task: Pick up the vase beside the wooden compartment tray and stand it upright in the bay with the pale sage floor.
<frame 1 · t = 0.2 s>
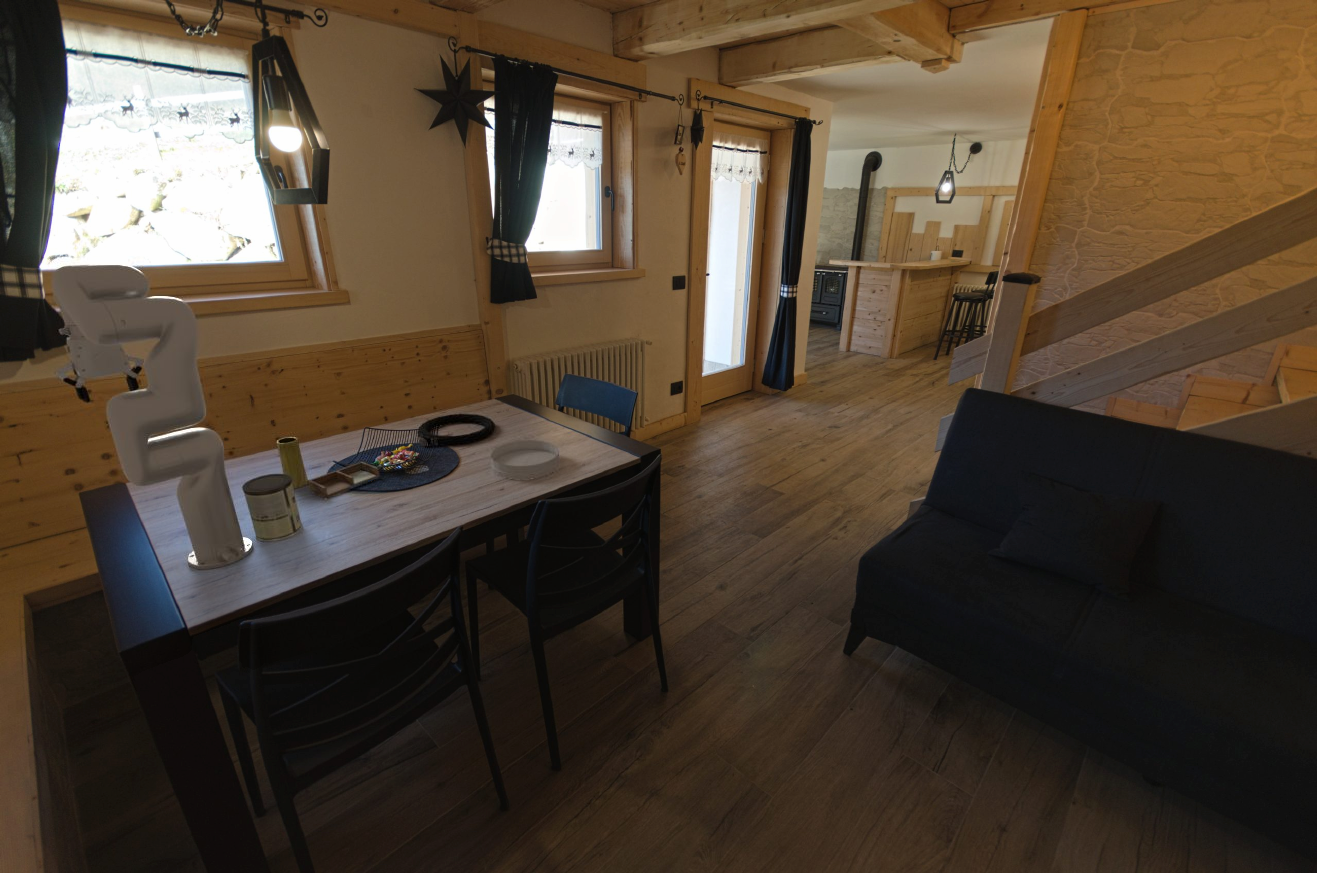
hand: (111, 396, 149), 31 cm above the table, tool pointing down, fingers open, 9 cm apart
cable lock: (454, 435, 215), on the table
wooden compartment tray: (345, 484, 174), on the table
vase: (297, 484, 173), on the table
coffee can: (279, 532, 148), on the table
dish: (526, 467, 190), on the table
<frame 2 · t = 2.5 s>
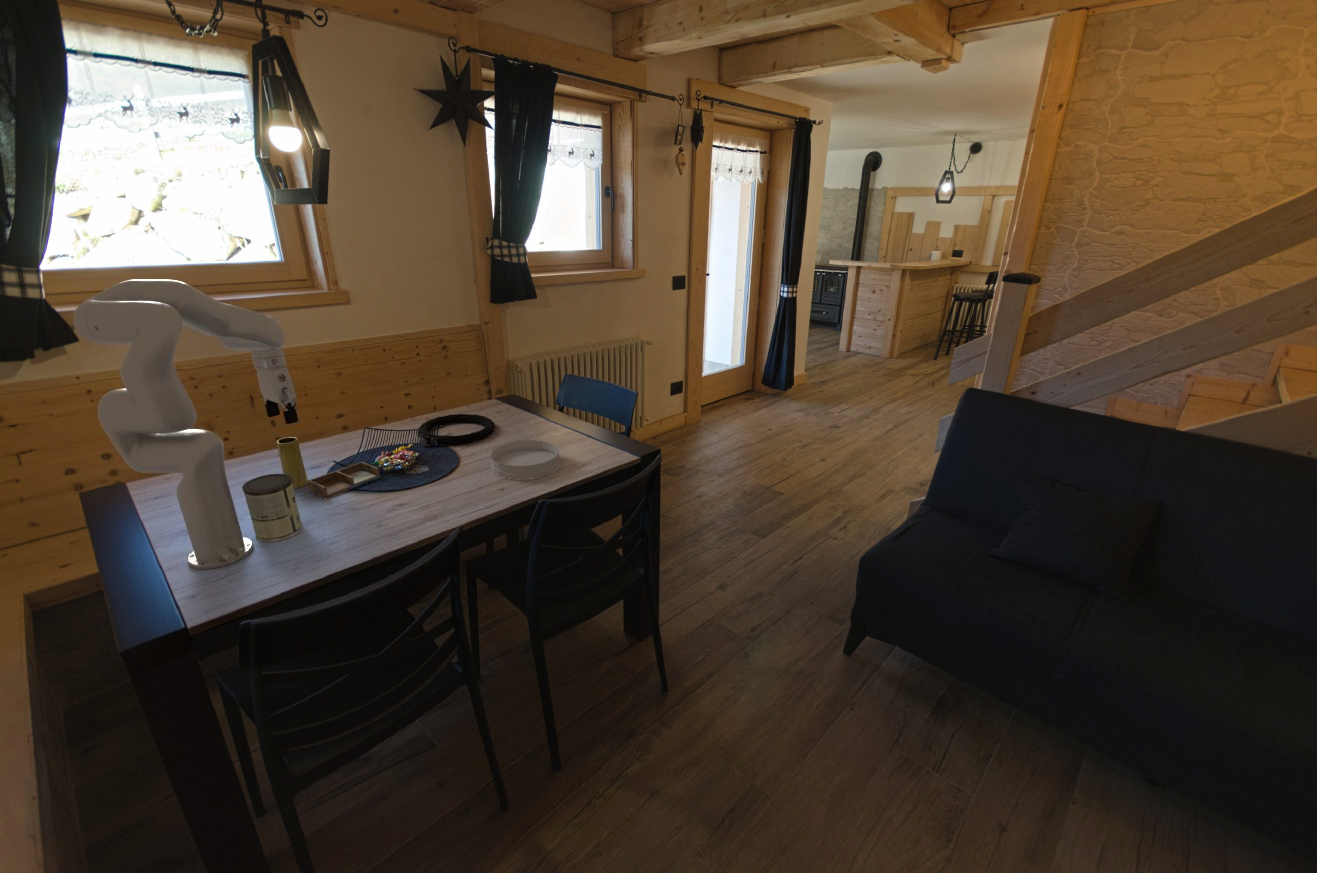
hand: (283, 419, 166), 21 cm above the table, tool pointing down, fingers open, 9 cm apart
nothing on the table moved.
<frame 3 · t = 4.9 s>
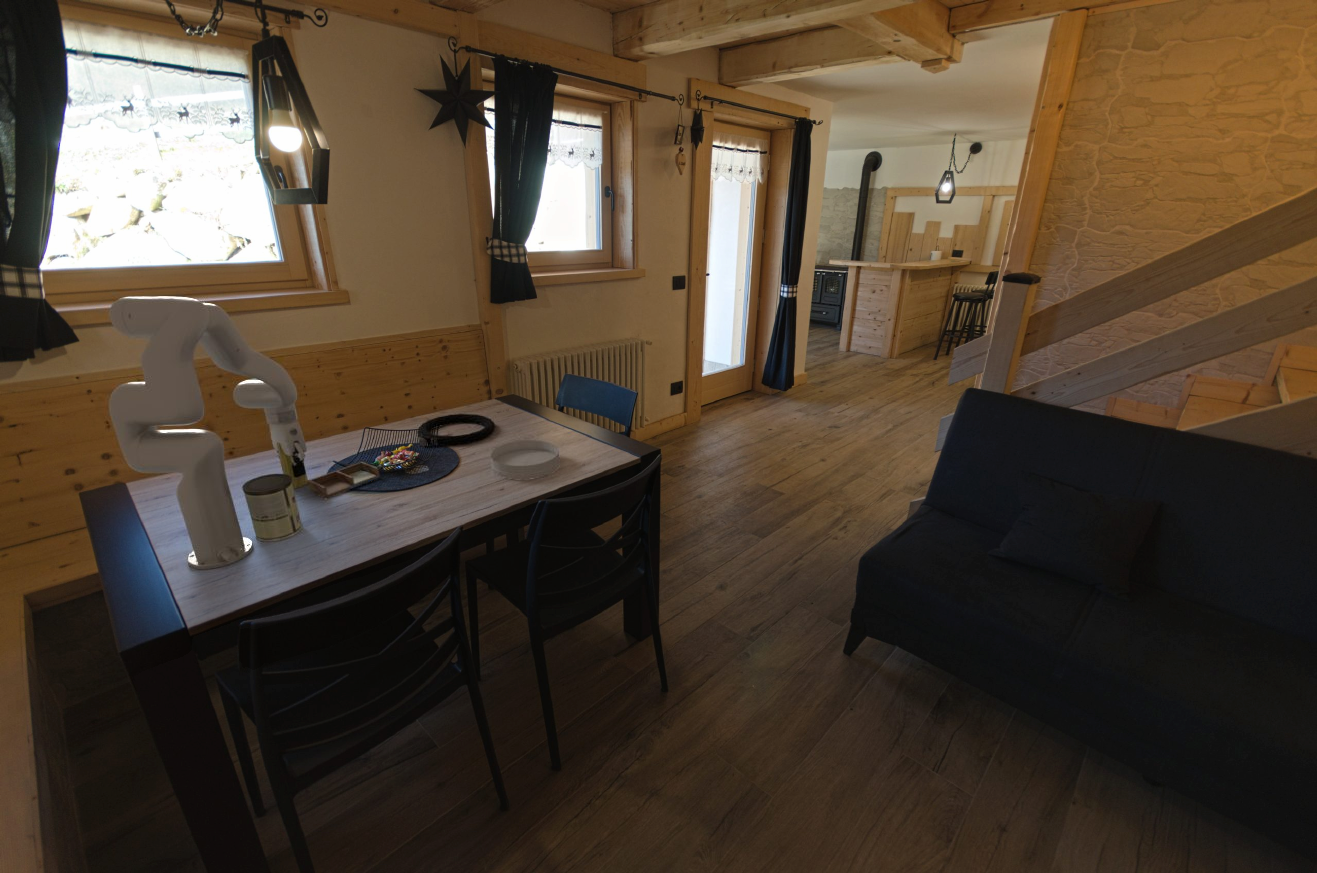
hand: (294, 472, 172), 4 cm above the table, tool pointing down, fingers closed on vase, 5 cm apart
vase: (297, 484, 174), on the table, touching gripper
everything else where it was.
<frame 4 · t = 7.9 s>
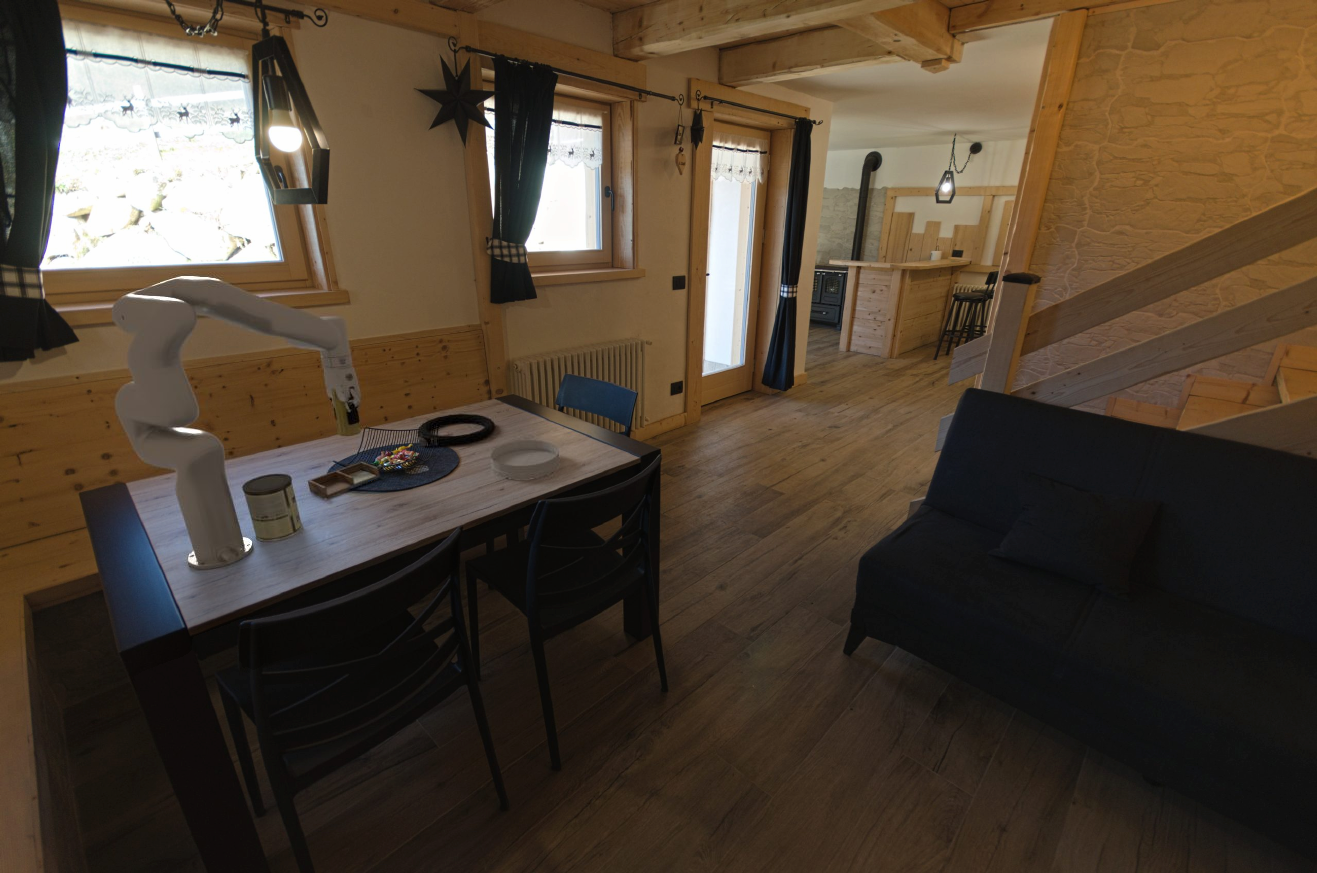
hand: (347, 420, 170), 19 cm above the table, tool pointing down, fingers closed on vase, 5 cm apart
vase: (350, 433, 171), point 15 cm above the table, touching gripper
everything else where it was.
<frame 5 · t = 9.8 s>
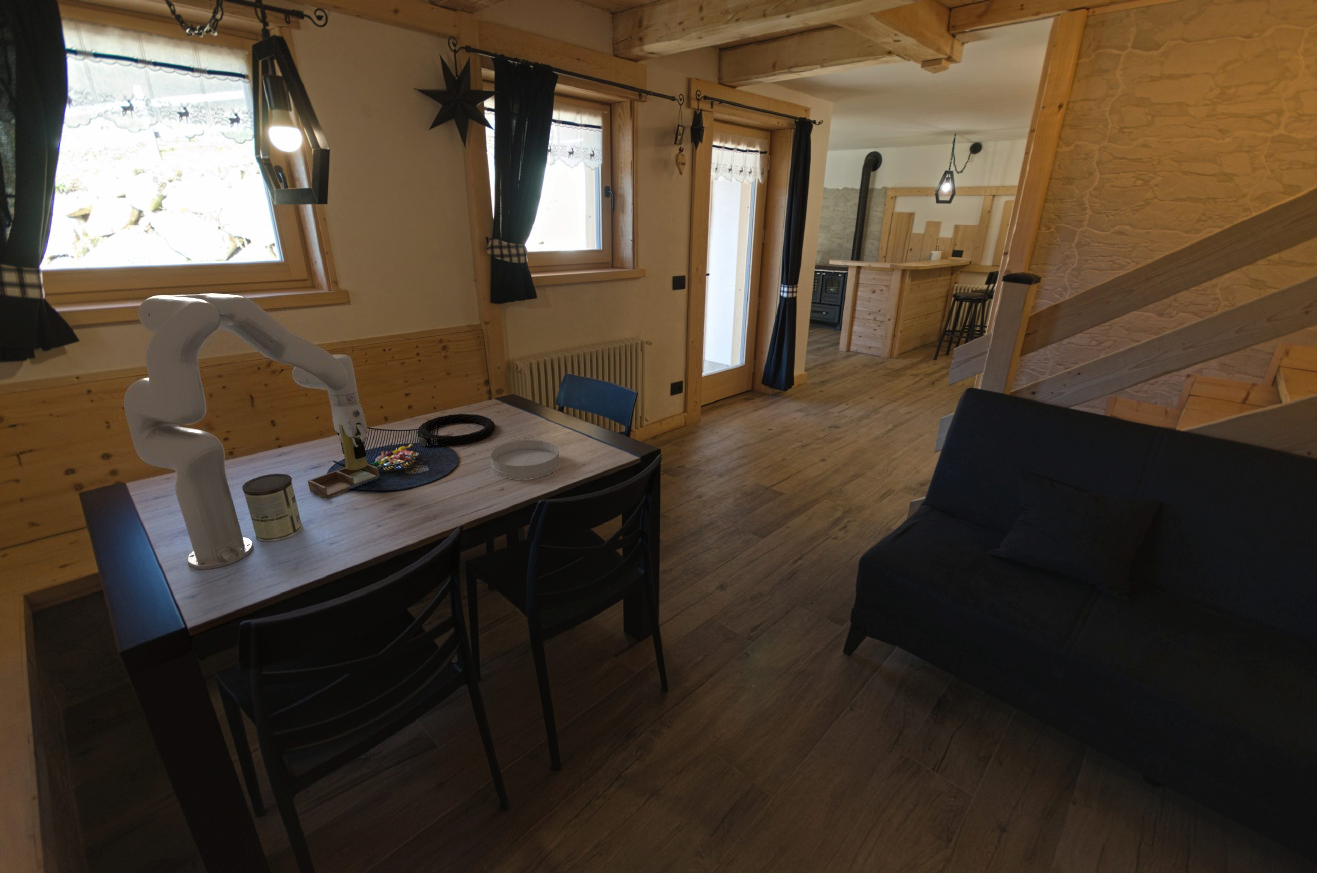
hand: (354, 454, 174), 8 cm above the table, tool pointing down, fingers closed on vase, 5 cm apart
vase: (356, 466, 175), point 4 cm above the table, touching gripper
everything else where it was.
when the fingers open (6 cm above the table, at t = 11.1 s): vase drops 1 cm, resting on wooden compartment tray.
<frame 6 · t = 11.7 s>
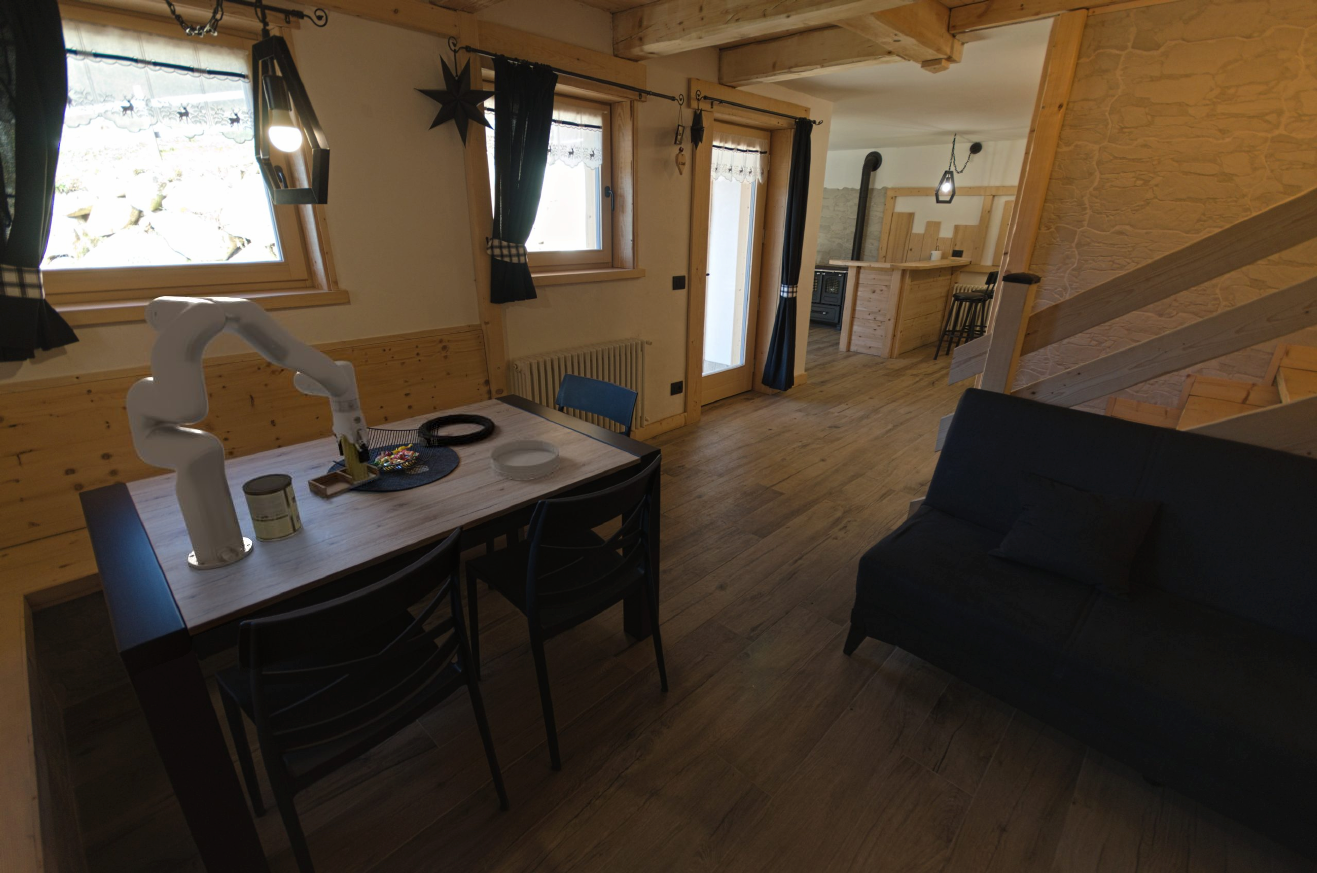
hand: (355, 458, 174), 7 cm above the table, tool pointing down, fingers open, 9 cm apart
vase: (358, 477, 176), point 1 cm above the table, touching wooden compartment tray
everything else where it was.
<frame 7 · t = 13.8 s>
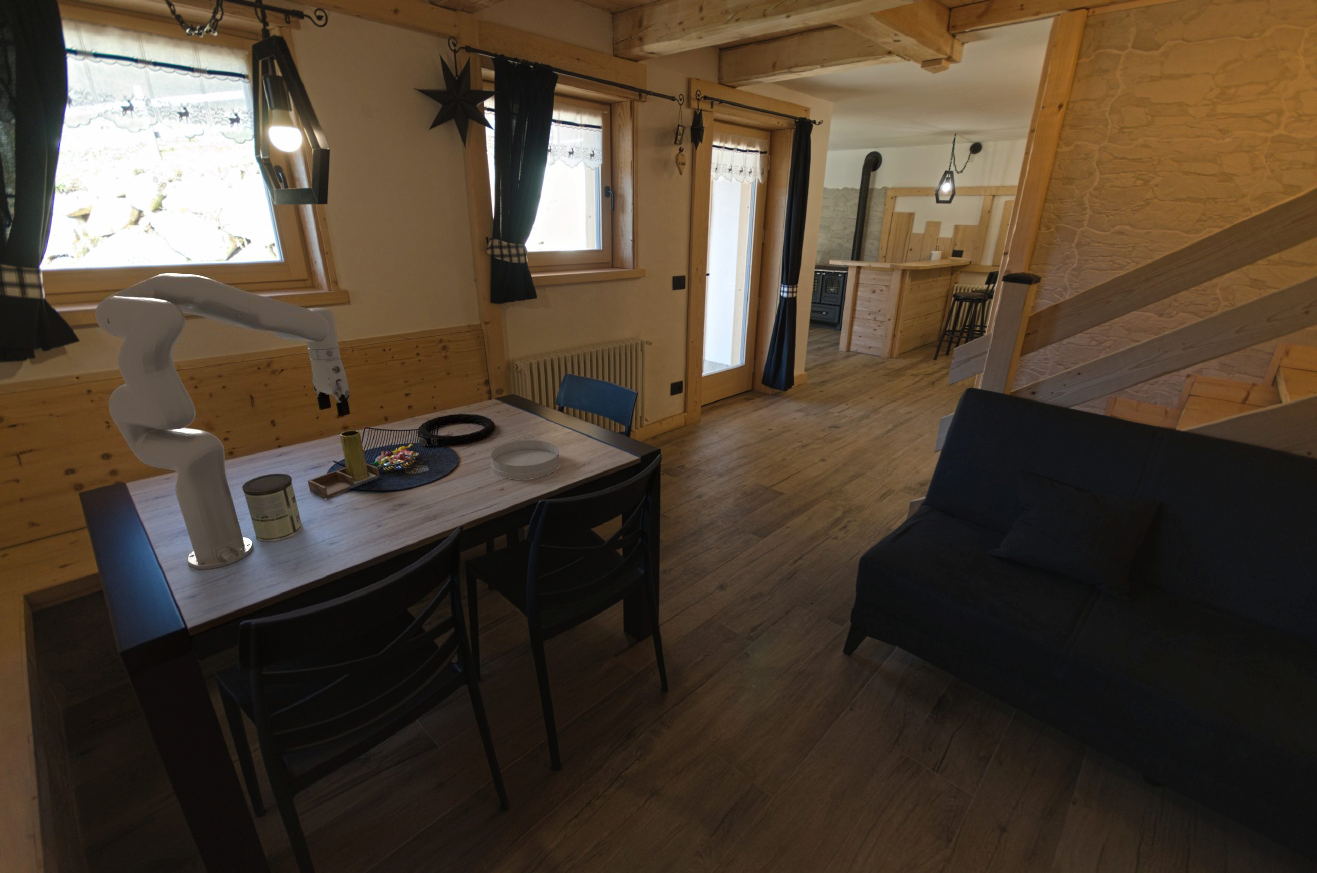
hand: (334, 411, 167), 23 cm above the table, tool pointing down, fingers open, 9 cm apart
nothing on the table moved.
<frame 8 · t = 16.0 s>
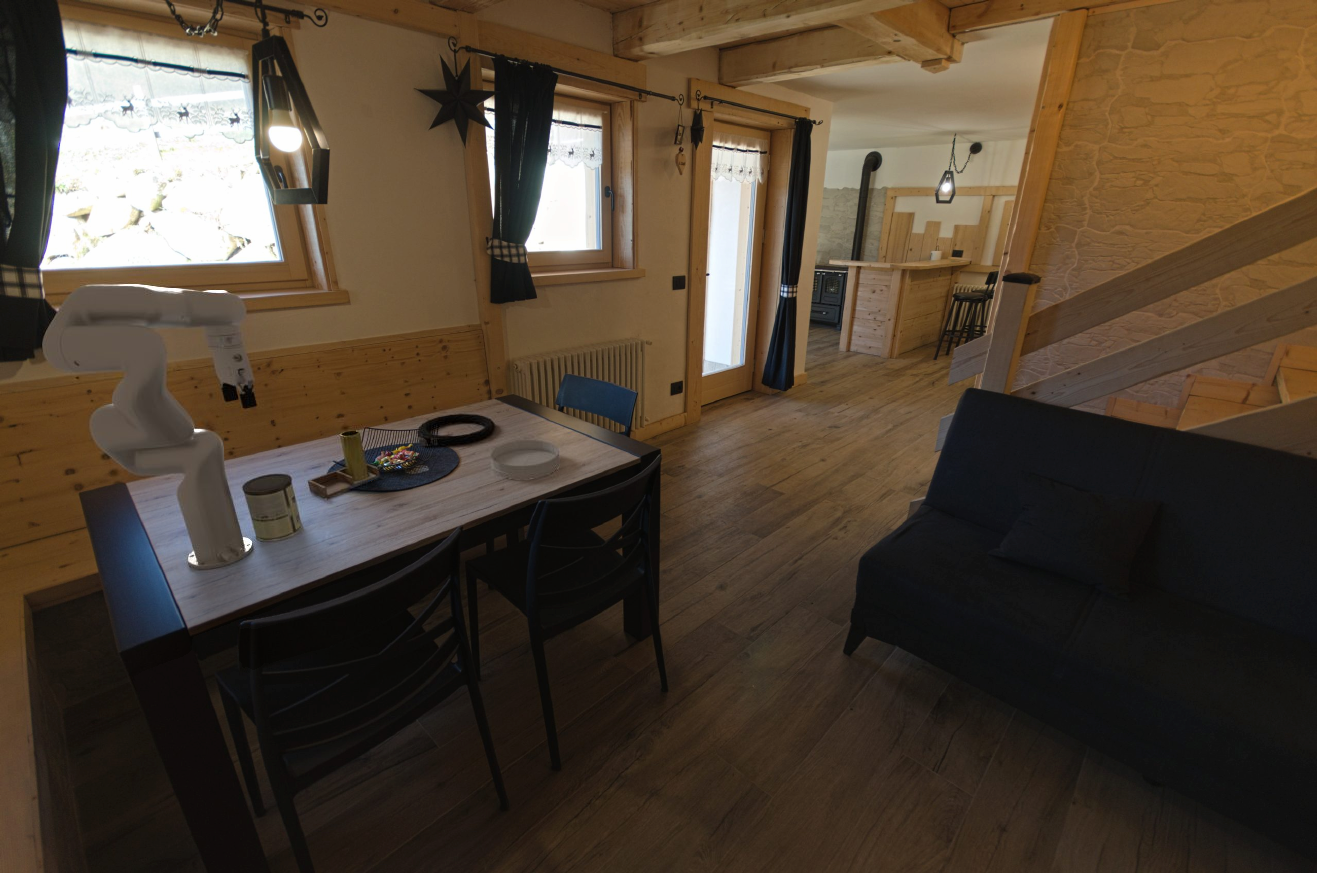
hand: (240, 403, 154), 28 cm above the table, tool pointing down, fingers open, 9 cm apart
nothing on the table moved.
at the end: vase 0.1 cm from the target spot on the wooden compartment tray, point 1.0 cm above the wooden compartment tray's base; vase tilted 0°; the gripper is holding nothing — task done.
